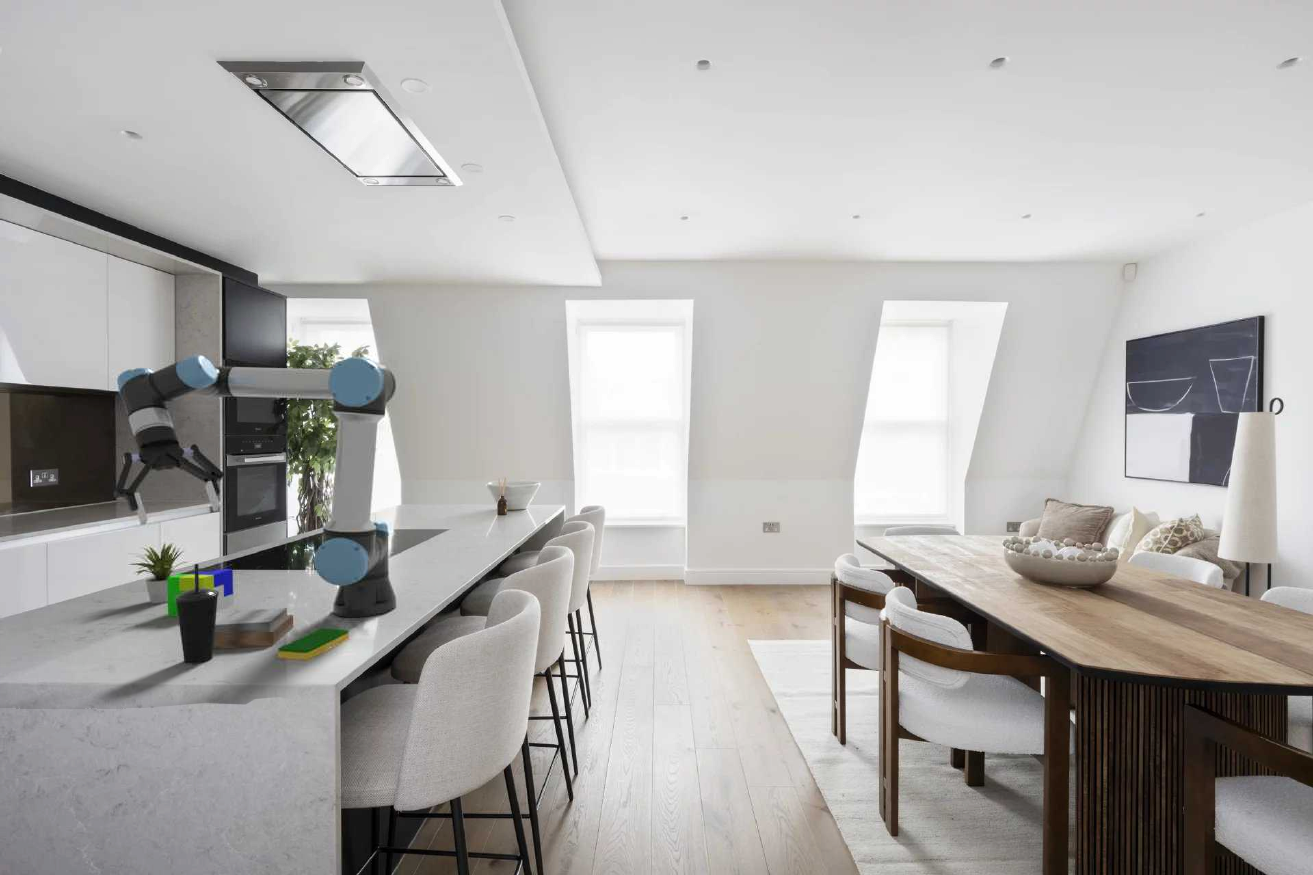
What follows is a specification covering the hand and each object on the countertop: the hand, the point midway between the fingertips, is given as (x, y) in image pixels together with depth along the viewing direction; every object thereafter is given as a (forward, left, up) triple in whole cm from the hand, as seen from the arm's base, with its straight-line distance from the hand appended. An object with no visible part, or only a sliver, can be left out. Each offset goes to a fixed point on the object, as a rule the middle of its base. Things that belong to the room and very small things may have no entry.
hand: (181, 515), depth 146 cm
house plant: (+25, -43, -29) cm, 57 cm away
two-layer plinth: (-13, -2, -29) cm, 32 cm away
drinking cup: (-8, +11, -29) cm, 32 cm away
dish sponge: (-29, +8, -29) cm, 42 cm away
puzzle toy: (+9, -29, -29) cm, 42 cm away
